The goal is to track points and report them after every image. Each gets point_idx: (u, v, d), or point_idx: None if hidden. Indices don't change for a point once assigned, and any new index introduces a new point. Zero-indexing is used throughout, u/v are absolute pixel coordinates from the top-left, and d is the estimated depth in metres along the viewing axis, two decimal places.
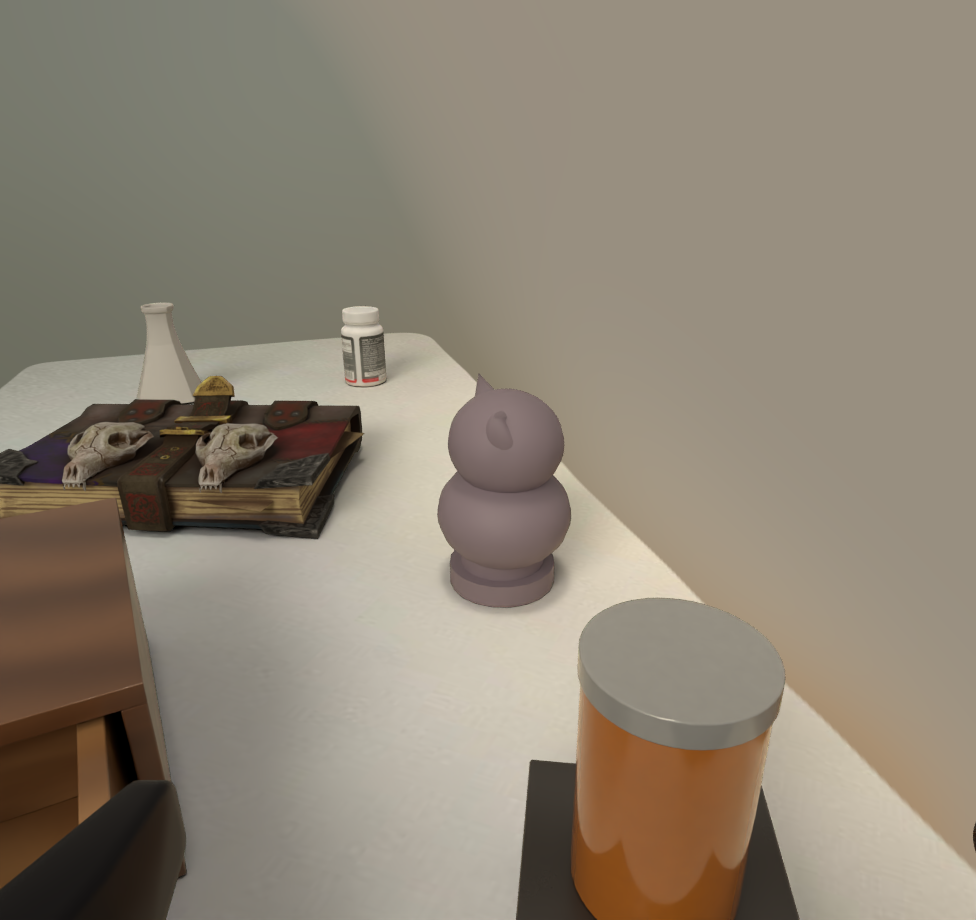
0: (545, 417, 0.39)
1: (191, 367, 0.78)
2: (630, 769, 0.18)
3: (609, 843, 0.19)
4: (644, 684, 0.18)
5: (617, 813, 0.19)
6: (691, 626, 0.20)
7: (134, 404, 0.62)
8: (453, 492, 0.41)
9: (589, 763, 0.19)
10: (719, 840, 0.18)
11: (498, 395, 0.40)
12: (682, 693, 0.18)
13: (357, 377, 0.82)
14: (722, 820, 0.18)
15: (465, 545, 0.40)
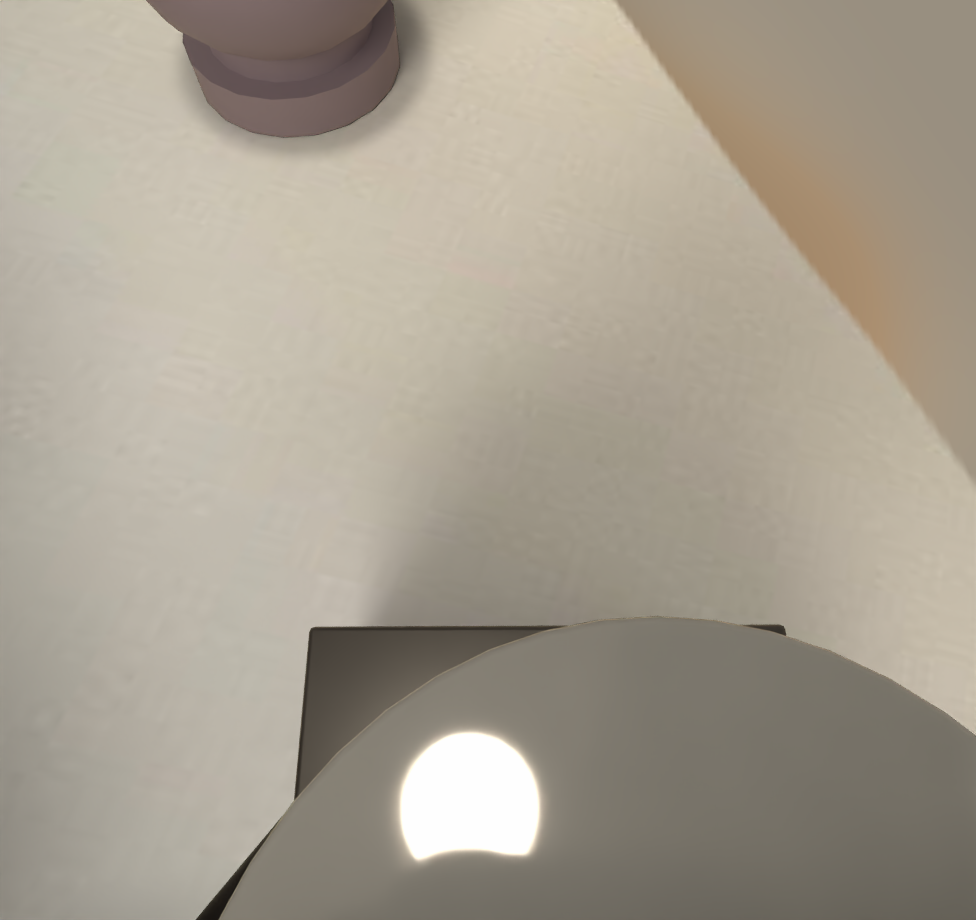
0: None
1: None
2: None
3: None
4: None
5: None
6: (774, 886, 0.04)
7: None
8: None
9: None
10: None
11: None
12: None
13: None
14: None
15: (175, 14, 0.18)
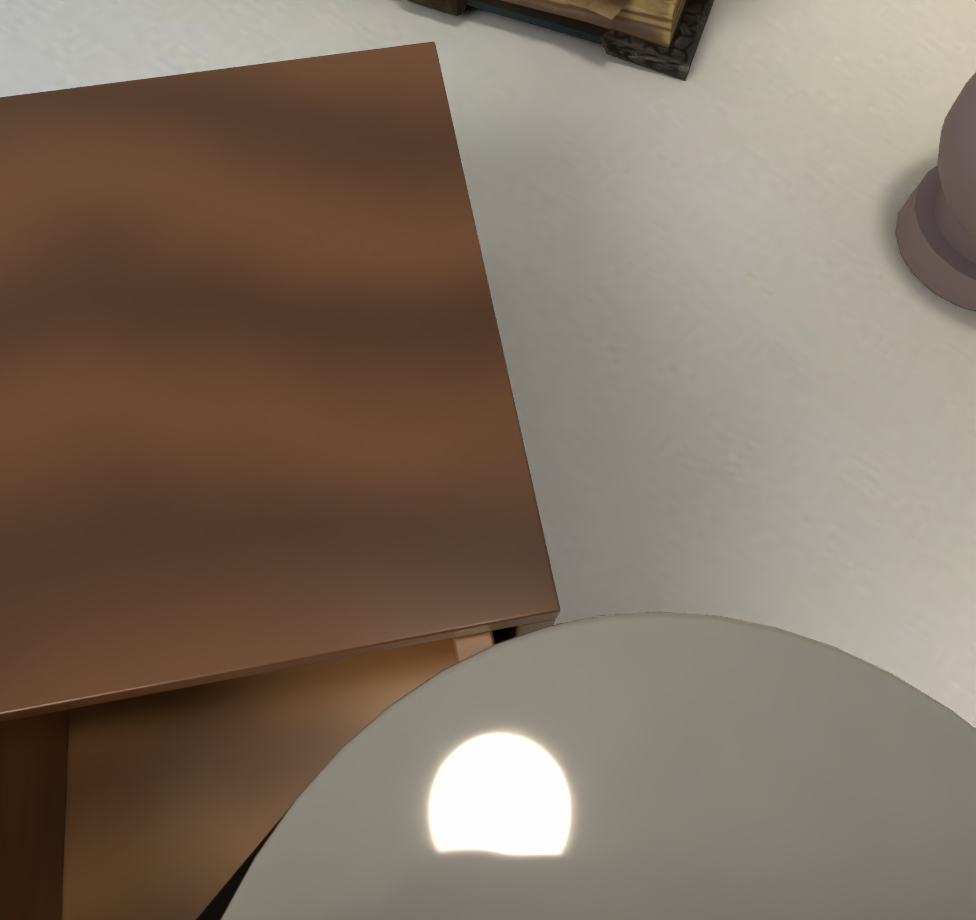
0: None
1: None
2: None
3: None
4: None
5: None
6: (777, 880, 0.04)
7: None
8: None
9: None
10: None
11: None
12: None
13: None
14: None
15: None
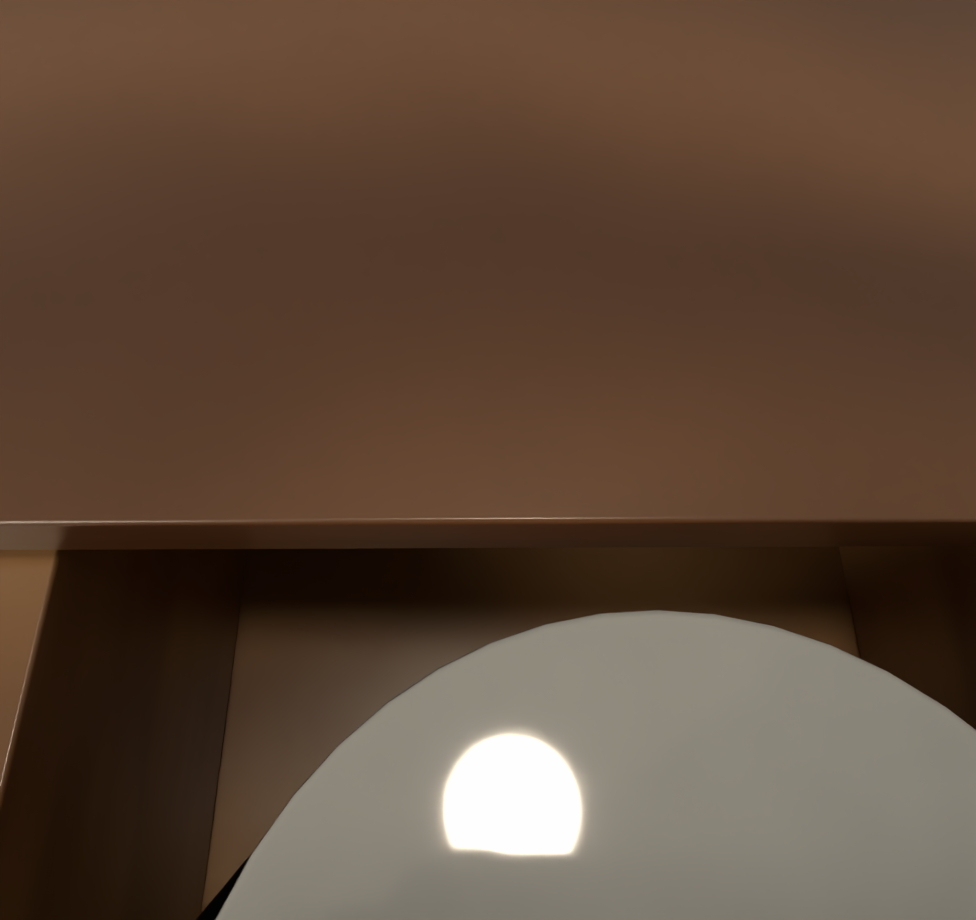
0: None
1: None
2: None
3: None
4: None
5: None
6: (772, 877, 0.04)
7: None
8: None
9: None
10: None
11: None
12: None
13: None
14: None
15: None
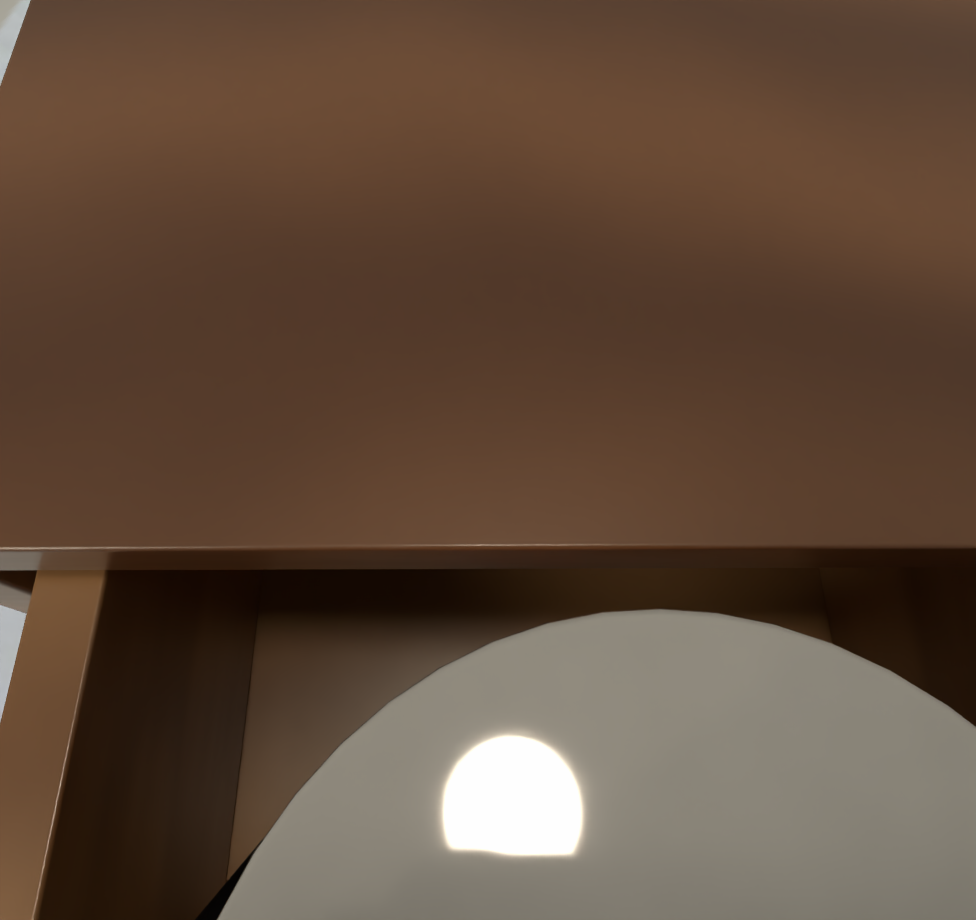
0: None
1: None
2: None
3: None
4: None
5: None
6: (775, 876, 0.04)
7: None
8: None
9: None
10: None
11: None
12: None
13: None
14: None
15: None
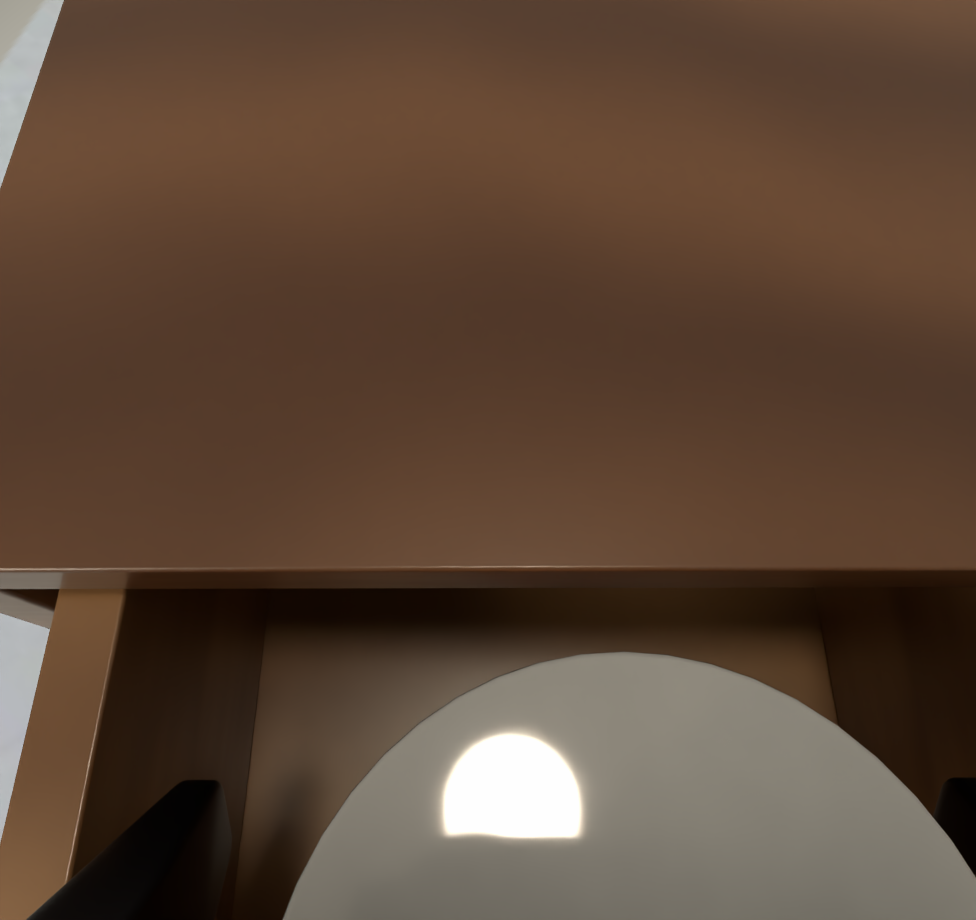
0: None
1: None
2: None
3: None
4: None
5: None
6: (704, 851, 0.05)
7: None
8: None
9: None
10: None
11: None
12: None
13: None
14: None
15: None
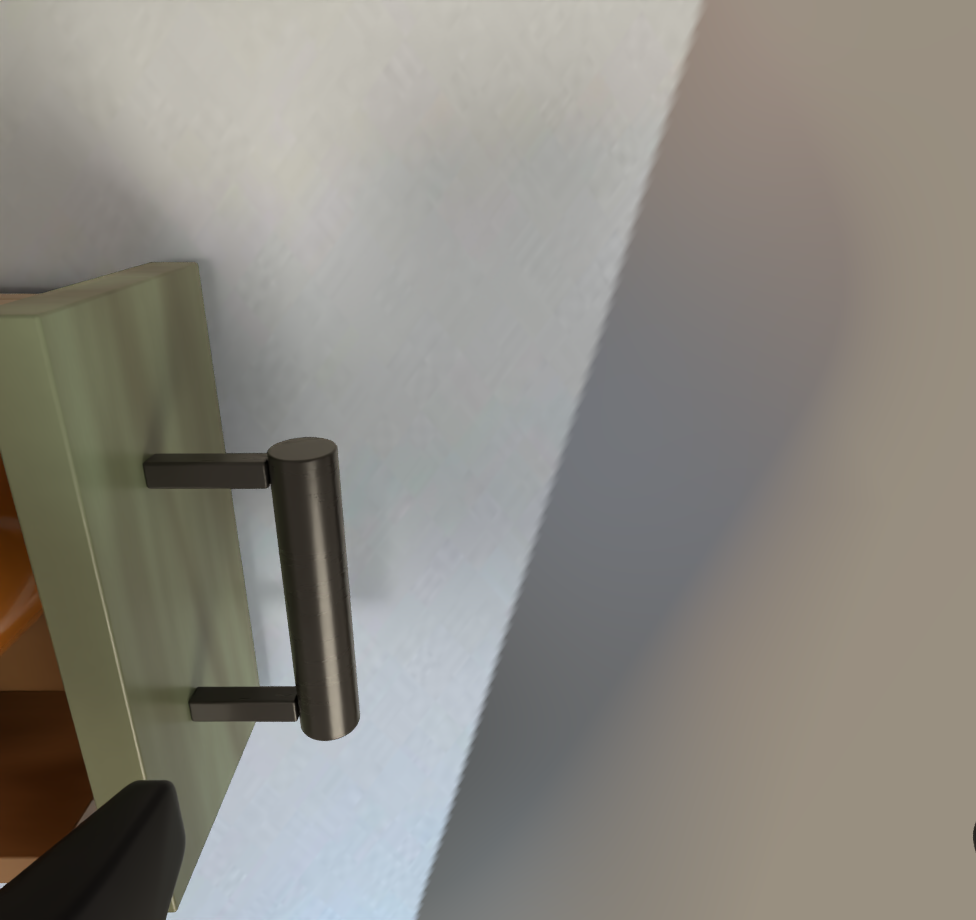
0: None
1: None
2: None
3: (1, 655, 0.17)
4: None
5: None
6: None
7: None
8: None
9: None
10: None
11: None
12: None
13: None
14: None
15: None
